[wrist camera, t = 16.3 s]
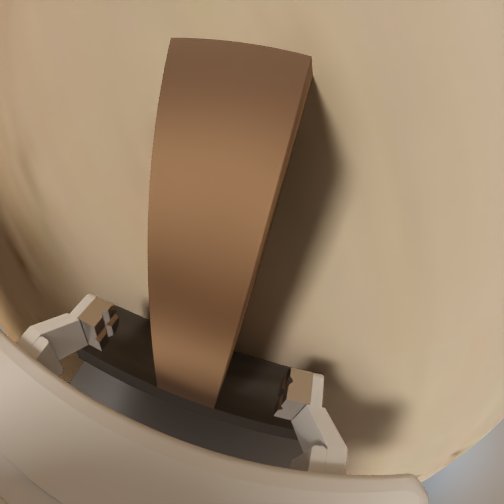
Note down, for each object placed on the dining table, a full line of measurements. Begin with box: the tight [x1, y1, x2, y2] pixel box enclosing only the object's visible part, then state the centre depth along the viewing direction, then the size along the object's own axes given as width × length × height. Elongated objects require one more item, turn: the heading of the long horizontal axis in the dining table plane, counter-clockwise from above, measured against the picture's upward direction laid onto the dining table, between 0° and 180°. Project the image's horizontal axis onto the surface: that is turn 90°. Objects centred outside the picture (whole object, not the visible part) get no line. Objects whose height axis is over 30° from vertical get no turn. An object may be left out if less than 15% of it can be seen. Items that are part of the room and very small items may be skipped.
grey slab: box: [69, 361, 303, 469], centre depth 21 cm, size 20×14×5 cm
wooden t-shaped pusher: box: [77, 38, 313, 440], centre depth 10 cm, size 16×14×4 cm
